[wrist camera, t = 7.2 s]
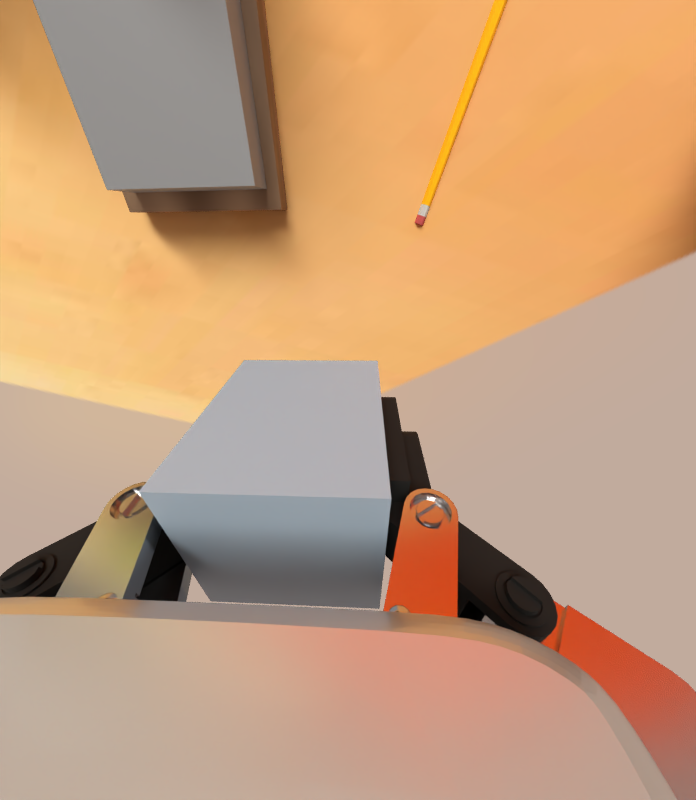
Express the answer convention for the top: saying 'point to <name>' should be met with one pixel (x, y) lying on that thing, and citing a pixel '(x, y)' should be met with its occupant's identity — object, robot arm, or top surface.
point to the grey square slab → (160, 91)
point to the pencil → (462, 106)
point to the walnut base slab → (268, 137)
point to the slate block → (282, 486)
